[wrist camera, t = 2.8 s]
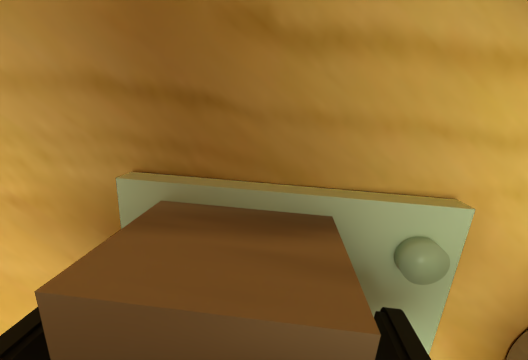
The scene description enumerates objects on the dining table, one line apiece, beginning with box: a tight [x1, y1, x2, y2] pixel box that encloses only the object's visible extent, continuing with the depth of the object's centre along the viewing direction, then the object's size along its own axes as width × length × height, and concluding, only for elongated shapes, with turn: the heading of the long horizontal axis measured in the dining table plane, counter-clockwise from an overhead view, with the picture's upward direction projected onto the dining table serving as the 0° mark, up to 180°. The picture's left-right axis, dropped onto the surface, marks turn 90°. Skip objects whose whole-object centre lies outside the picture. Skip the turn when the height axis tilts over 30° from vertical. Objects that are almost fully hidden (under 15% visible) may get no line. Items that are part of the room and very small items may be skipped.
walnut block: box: [35, 201, 381, 360], centre depth 8 cm, size 6×6×5 cm
